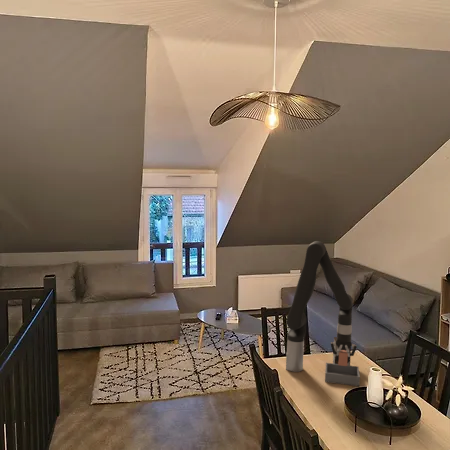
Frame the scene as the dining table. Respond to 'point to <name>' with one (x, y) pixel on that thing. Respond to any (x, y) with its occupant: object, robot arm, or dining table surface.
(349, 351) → the coffee box
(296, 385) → the dining table surface
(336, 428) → the dining table surface
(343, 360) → the juice box
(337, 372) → the tote
